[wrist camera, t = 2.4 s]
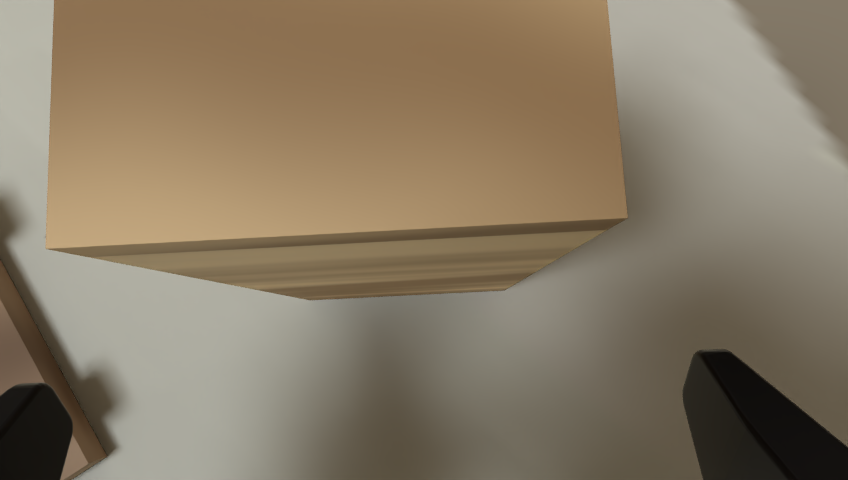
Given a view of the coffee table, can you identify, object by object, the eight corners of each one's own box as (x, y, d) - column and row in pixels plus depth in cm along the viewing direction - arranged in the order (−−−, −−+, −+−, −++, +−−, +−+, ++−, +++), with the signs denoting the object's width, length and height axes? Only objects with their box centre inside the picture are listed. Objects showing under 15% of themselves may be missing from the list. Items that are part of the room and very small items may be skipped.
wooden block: (504, 290, 19) (627, 218, 6) (310, 300, 19) (44, 248, 6) (497, 194, 20) (601, -56, 7) (307, 205, 20) (54, -21, 7)
